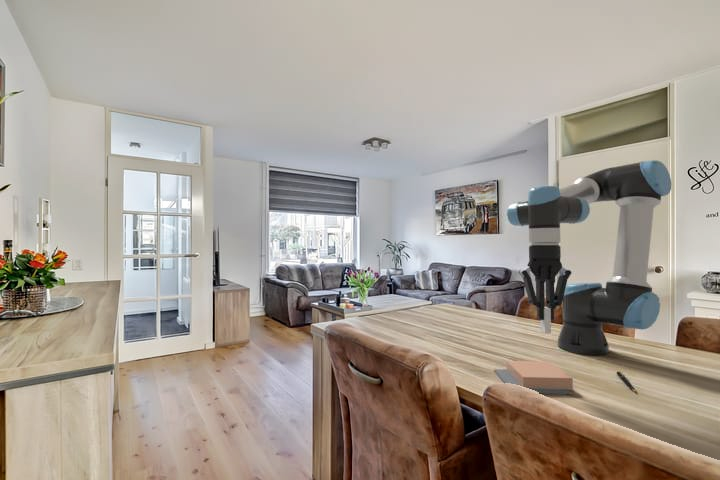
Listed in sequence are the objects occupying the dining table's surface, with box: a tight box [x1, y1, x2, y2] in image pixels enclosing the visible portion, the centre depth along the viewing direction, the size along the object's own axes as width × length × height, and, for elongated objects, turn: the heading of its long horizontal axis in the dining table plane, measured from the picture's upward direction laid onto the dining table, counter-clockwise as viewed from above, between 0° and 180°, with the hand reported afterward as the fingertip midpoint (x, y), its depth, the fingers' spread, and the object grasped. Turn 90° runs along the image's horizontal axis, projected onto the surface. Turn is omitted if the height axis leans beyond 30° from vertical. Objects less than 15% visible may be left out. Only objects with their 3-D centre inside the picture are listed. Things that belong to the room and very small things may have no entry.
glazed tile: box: [506, 360, 574, 391], centre depth 93 cm, size 3×12×12 cm
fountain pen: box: [616, 370, 636, 392], centre depth 92 cm, size 14×1×2 cm, turn 158°
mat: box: [493, 368, 572, 396], centre depth 93 cm, size 14×15×1 cm
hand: (545, 331), depth 92 cm, fingers closed
